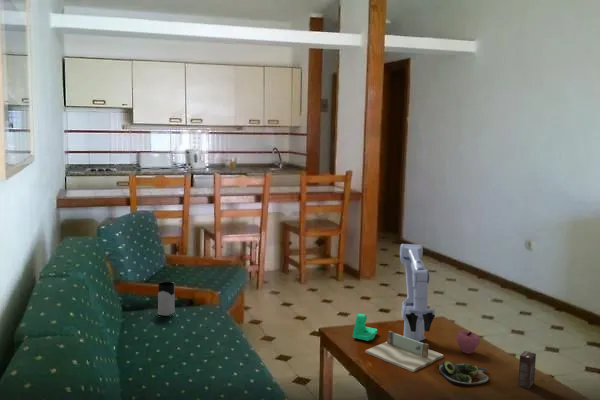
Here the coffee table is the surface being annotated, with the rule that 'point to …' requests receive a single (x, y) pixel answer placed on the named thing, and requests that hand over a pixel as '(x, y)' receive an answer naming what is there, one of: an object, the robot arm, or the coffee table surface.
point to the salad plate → (462, 373)
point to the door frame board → (403, 355)
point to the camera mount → (363, 329)
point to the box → (527, 369)
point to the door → (407, 343)
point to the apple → (467, 341)
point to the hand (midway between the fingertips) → (420, 331)
